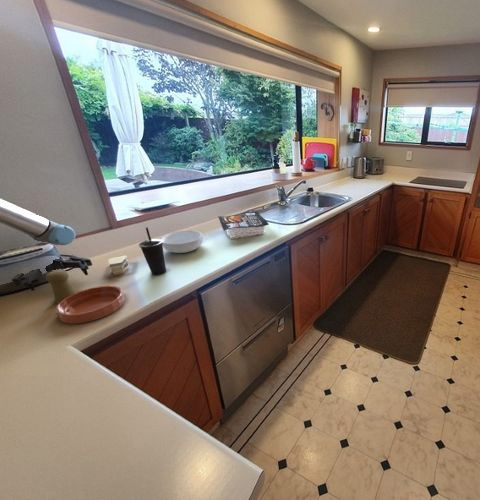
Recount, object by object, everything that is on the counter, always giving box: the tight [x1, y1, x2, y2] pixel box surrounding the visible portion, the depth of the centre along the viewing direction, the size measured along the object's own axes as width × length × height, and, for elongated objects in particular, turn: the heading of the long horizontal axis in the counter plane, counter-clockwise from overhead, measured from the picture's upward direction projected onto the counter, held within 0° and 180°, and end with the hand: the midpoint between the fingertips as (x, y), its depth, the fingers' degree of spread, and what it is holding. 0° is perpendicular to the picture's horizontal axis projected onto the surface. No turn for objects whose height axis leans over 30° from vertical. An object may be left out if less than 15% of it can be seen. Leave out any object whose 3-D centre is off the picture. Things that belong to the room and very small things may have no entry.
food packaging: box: [217, 211, 270, 240], centre depth 157 cm, size 25×8×23 cm
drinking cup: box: [138, 226, 167, 276], centre depth 110 cm, size 8×8×20 cm
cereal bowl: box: [160, 230, 204, 254], centre depth 133 cm, size 17×17×7 cm
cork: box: [45, 269, 78, 304], centre depth 94 cm, size 6×6×11 cm
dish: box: [55, 285, 126, 325], centre depth 91 cm, size 16×16×4 cm
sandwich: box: [107, 255, 130, 276], centre depth 113 cm, size 10×9×6 cm
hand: (60, 279), depth 96 cm, fingers open, 13 cm apart
